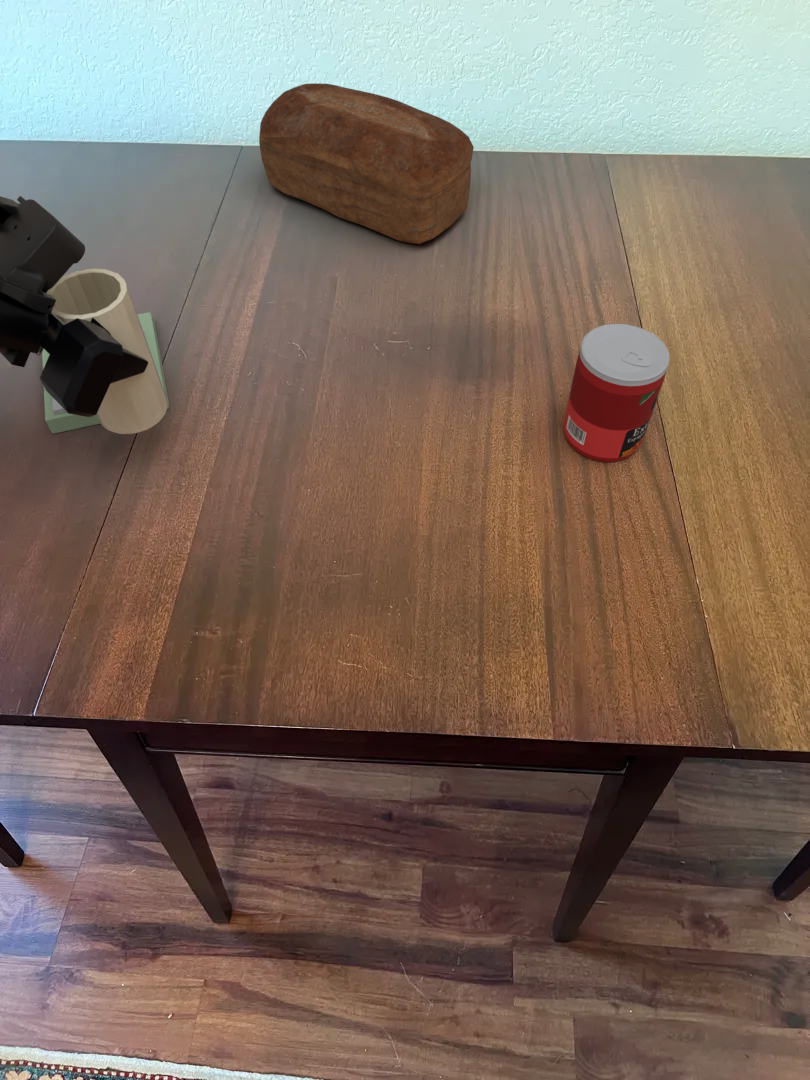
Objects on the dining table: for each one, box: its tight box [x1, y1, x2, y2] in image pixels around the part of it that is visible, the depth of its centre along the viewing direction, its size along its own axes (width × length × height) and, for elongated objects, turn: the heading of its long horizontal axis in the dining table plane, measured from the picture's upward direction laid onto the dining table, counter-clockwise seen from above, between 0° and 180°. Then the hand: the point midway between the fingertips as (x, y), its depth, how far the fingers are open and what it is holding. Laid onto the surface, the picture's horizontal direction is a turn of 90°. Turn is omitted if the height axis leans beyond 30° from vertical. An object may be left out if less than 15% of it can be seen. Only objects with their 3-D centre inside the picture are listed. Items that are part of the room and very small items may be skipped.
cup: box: [47, 268, 168, 435], centre depth 68 cm, size 6×6×13 cm
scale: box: [41, 311, 171, 434], centre depth 83 cm, size 14×12×3 cm
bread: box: [258, 82, 475, 245], centre depth 99 cm, size 14×28×12 cm, turn 55°
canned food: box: [563, 323, 670, 463], centre depth 74 cm, size 8×8×11 cm
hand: (124, 347), depth 68 cm, fingers closed on cup, 6 cm apart
